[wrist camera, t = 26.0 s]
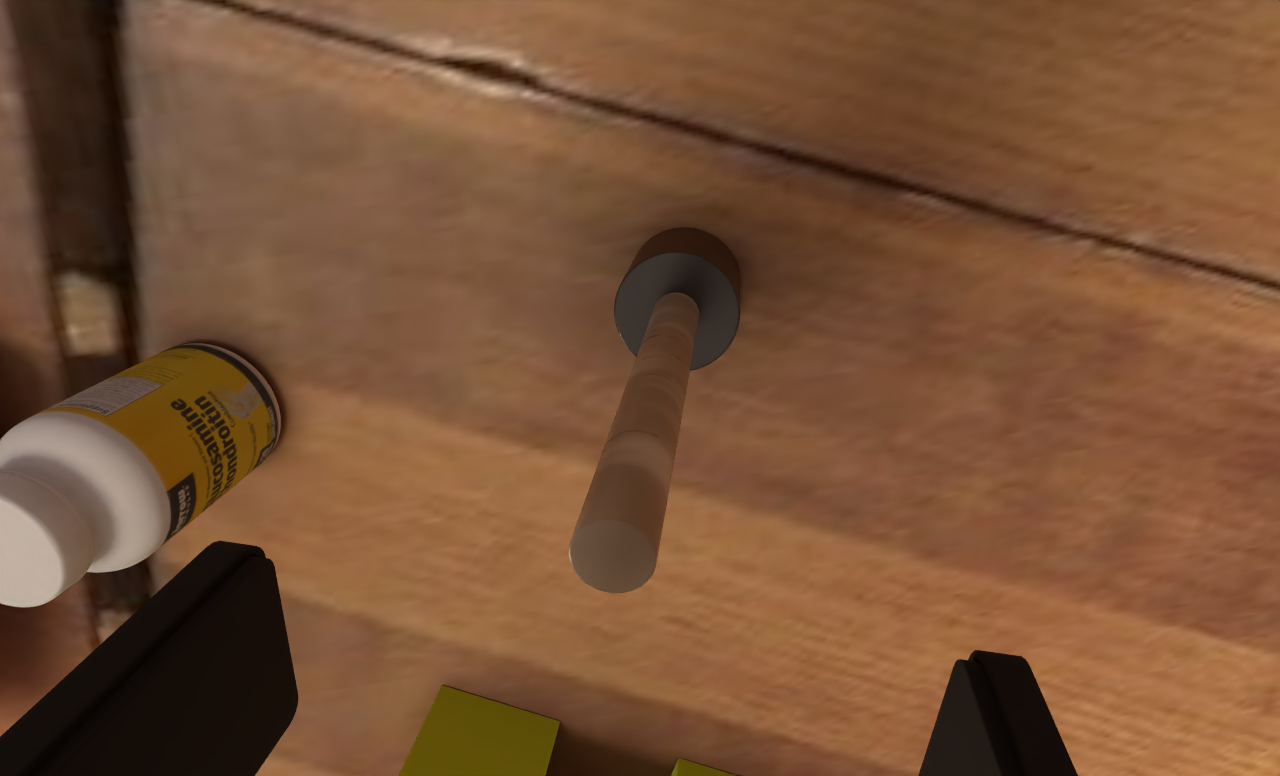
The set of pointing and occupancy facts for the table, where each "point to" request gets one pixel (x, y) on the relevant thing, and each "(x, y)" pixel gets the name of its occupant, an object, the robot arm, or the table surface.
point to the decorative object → (492, 741)
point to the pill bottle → (126, 466)
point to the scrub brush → (653, 399)
